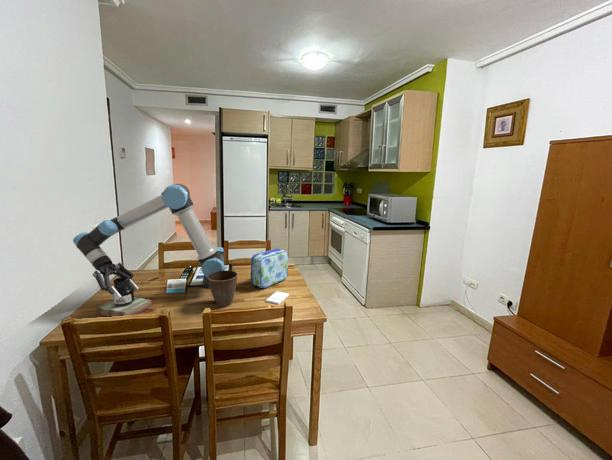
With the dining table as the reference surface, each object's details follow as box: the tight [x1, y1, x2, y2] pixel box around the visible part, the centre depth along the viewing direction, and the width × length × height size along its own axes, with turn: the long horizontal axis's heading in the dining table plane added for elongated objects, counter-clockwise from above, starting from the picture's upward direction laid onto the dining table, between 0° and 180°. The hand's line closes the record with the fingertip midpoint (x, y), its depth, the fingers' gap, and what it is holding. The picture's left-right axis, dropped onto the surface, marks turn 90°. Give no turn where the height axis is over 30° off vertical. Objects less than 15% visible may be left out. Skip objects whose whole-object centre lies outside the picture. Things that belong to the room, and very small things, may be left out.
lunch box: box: [250, 248, 289, 289], centre depth 177 cm, size 26×11×21 cm, turn 143°
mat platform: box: [96, 296, 153, 317], centre depth 143 cm, size 18×15×4 cm
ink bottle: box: [112, 277, 136, 306], centre depth 141 cm, size 10×9×12 cm
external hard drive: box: [264, 290, 290, 305], centre depth 158 cm, size 2×8×12 cm
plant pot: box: [207, 269, 238, 308], centre depth 149 cm, size 15×15×16 cm
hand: (128, 293), depth 140 cm, fingers open, 9 cm apart
